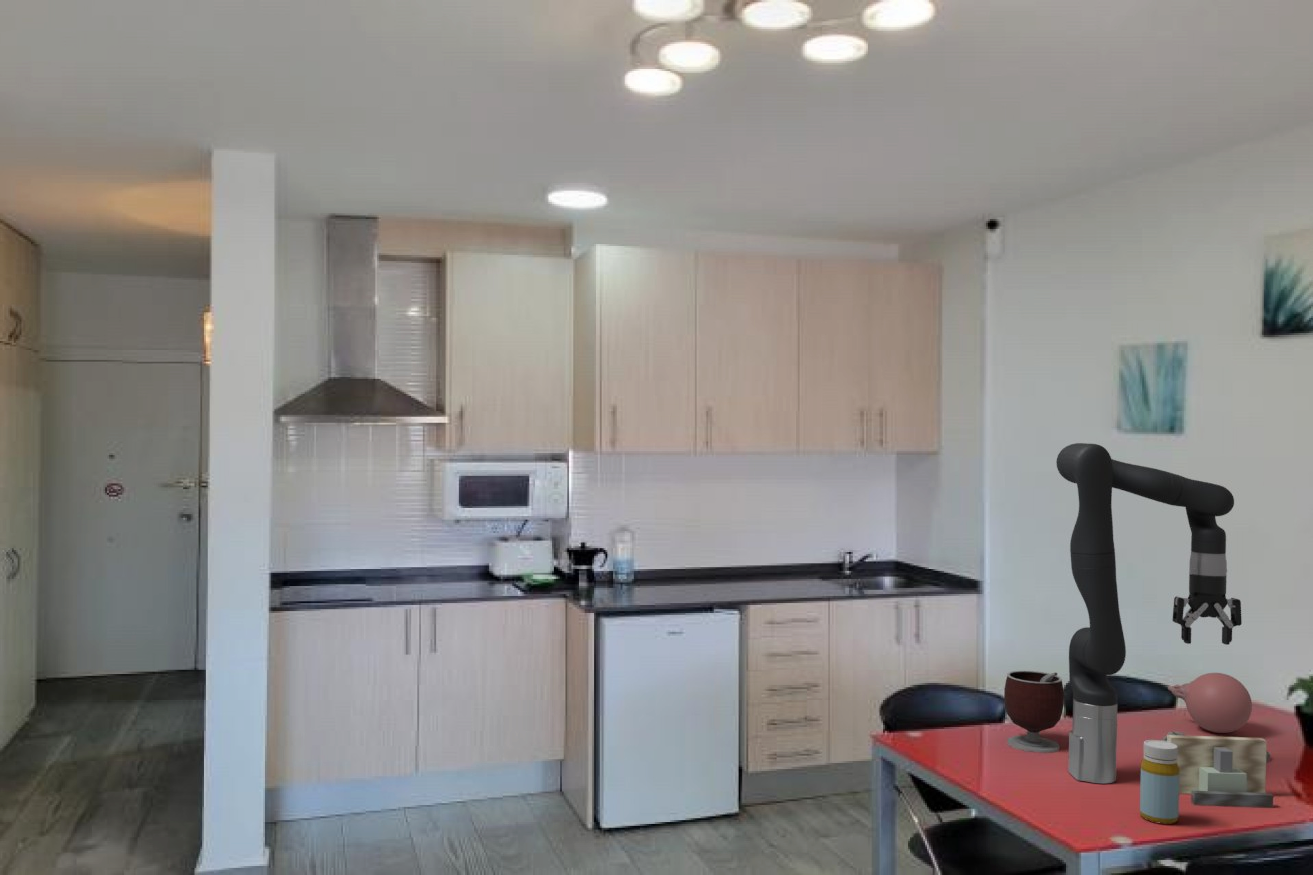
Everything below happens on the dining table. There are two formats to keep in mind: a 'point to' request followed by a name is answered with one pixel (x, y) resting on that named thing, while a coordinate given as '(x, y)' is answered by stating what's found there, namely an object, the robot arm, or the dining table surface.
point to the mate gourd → (1034, 707)
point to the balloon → (1216, 702)
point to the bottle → (1159, 782)
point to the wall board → (1245, 757)
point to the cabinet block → (1222, 774)
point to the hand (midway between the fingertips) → (1206, 643)
